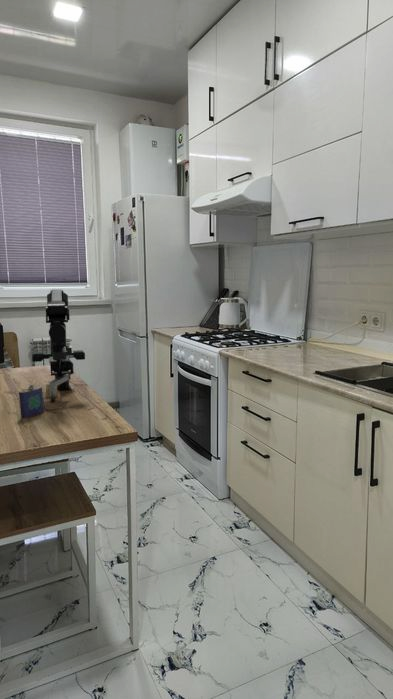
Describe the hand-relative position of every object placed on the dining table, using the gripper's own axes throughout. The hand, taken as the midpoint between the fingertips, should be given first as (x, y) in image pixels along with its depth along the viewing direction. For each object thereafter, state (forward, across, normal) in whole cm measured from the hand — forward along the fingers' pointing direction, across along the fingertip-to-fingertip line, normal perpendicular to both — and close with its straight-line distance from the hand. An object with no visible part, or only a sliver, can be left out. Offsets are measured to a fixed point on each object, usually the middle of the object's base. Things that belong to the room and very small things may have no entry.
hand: (59, 378), depth 171 cm
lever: (+6, 0, -4) cm, 7 cm away
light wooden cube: (+6, -3, +1) cm, 7 cm away
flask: (+9, -10, -16) cm, 21 cm away
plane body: (+8, -3, -2) cm, 9 cm away
